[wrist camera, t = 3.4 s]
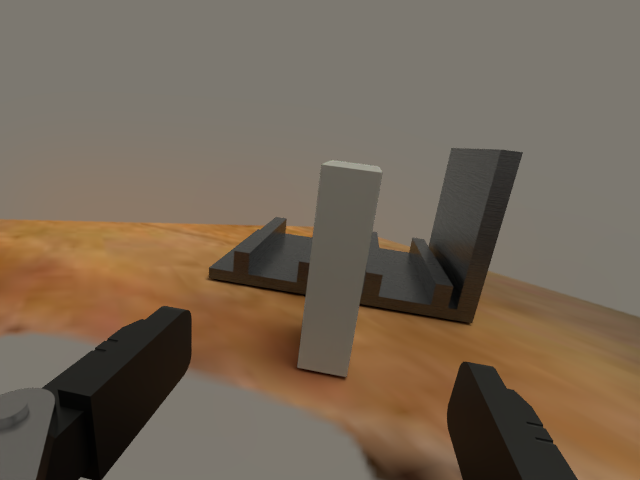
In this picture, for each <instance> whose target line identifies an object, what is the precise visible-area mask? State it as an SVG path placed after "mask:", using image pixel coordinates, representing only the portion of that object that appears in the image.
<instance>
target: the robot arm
mask: <svg viewBox="0 0 640 480" xmlns="http://www.w3.org/2000/svg"><path fill="white" fill-rule="evenodd" d="M191 323H192V319H191V313H190V311H189V310H184V309H179V308H173V307H168V306H163V307H161V308H159V309H158V310H157V311H156V312H154V313H153V314H152V315H150V316H149V317H148V318H147V319H145V320H143V319H141V320H139V321H136V322H134V323H132V324H129V325H127V326H125V327H122V328H121V329H120V330H118V331H117V332H116V333H114V334H113V335H112V336H110V337H109V338H108V340H107V341H104V342H102V343H101V344H100V345H99V346H97V347H96V348H95V350H94V351H91V352H89V353H88V354H87V355H85V356H84V357H83V358H81V359H80V360H79V361H77V362H76V363H75V364H73V365H72V366H71V367H69V368H68V369H67V370H65V371H64V372H63V373H61V374H60V375H59V376H57V377H56V378H55V379H53V380H52V381H51V382H49V383H48V384H47V385H45V386H44V387H43V388H26V389H19V390H15V391H11V392H8V393H5V394H2V395H0V480H78V479H79V478H80V477H83V478H87V479H91V480H102V479H103V477H104V476H105V475H106V474H107V472H108V471H109V470H110V468H111V467H112V466H113V465H114V463H115V462H116V461H117V460H118V458H119V457H120V456H121V455H122V453H123V452H124V451H125V449H126V448H127V447H128V446H129V444H130V443H131V442H132V441H133V439H134V438H135V437H136V436H137V434H138V433H139V432H140V430H141V429H142V428H143V427H144V425H145V424H146V423H147V422H148V420H149V419H150V418H151V417H152V415H153V414H154V413H155V411H156V410H157V409H158V408H159V406H160V405H161V404H162V402H163V401H164V400H165V399H166V397H167V396H168V395H169V394H170V392H171V391H172V390H173V388H174V387H175V386H176V385H177V383H178V382H179V381H180V380H181V378H182V377H183V376H184V374H185V373H186V371H187V369H188V366H189V364H190V360H191ZM447 424H448V430H449V434H450V437H451V441H452V444H453V448H454V451H455V454H456V458H457V461H458V465H459V468H460V472H461V475H462V478H463V480H578V479H577V478H576V476H575V474H574V473H573V471H572V470H571V468H570V467H569V465H568V463H567V462H566V460H565V459H564V457H563V456H562V454H561V452H560V451H559V449H558V448H557V446H556V445H554V444H553V440H552V438H551V437H550V435H549V433H548V432H547V430H546V429H544V428H543V424H542V422H541V421H540V419H539V418H538V416H537V415H536V413H535V411H534V410H533V408H532V407H531V406H530V405H529V404H528V403H527V402H526V401H525V400H524V399H523V398H522V397H521V396H520V395H519V394H517V393H516V392H515V391H514V390H511V389H507V388H506V386H505V385H504V383H503V381H502V380H501V378H500V376H499V374H498V373H497V371H496V369H495V368H494V367H492V366H486V365H481V364H475V363H470V362H463V363H462V364H461V365H460V367H459V371H458V374H457V377H456V381H455V384H454V387H453V391H452V394H451V398H450V401H449V404H448V410H447Z"/></svg>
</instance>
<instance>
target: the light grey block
mask: <svg viewBox="0 0 640 480" xmlns="http://www.w3.org/2000/svg"><path fill="white" fill-rule="evenodd" d="M381 179H382V171H381V169H380V168H379V166H372V165H364V164H357V163H349V162H342V161H335V160H331V161H328V162H326V163H324V164H322V165H321V173H320V181H319V190H318V198H317V206H316V214H315V223H314V231H313V239H312V248H311V256H310V264H309V273H308V281H307V290H306V298H305V306H304V315H303V323H302V331H301V340H300V348H299V356H298V365H297V368H302V369H307V370H312V371H317V372H322V373H328V374H333V375H338V376H343V377H347V372H348V367H349V361H350V355H351V350H352V344H353V338H354V333H355V327H356V321H357V316H358V310H359V304H360V299H361V293H362V287H363V281H364V276H365V270H366V264H367V259H368V253H369V247H370V242H371V236H372V230H373V224H374V219H375V213H376V207H377V202H378V196H379V190H380V185H381Z"/></svg>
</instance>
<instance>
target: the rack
mask: <svg viewBox="0 0 640 480" xmlns="http://www.w3.org/2000/svg"><path fill="white" fill-rule="evenodd" d="M521 157H522V152H515V151H506V150H492V149H459V148H457V149H456V148H452V149H451V153H450V157H449V161H448V165H447V170H446V174H445V178H444V183H443V187H442V191H441V195H440V200H439V204H438V208H437V213H436V217H435V221H434V226H433V230H432V234H431V239H430V243H429V247H428V245H427V244H426V242H425V240H424V239H418V238H412V242H411V247H410V251H409V253H407V252H401V251H394V250H388V249H381V248H379V244H378V237H377V232H372V236H371V242H370V247H369V253H368V259H367V264H366V270H365V276H364V281H363V287H362V293H361V299H360V304H364V305H369V306H375V307H381V308H387V309H393V310H398V311H404V312H410V313H416V314H422V315H428V316H433V317H439V318H445V319H451V320H457V321H462V322H468V323H472V322H473V319H474V315H475V312H476V309H477V305H478V302H479V298H480V295H481V292H482V288H483V285H484V282H485V278H486V275H487V271H488V268H489V265H490V261H491V258H492V255H493V251H494V248H495V244H496V241H497V238H498V234H499V231H500V228H501V224H502V221H503V217H504V214H505V211H506V207H507V204H508V201H509V197H510V194H511V190H512V187H513V183H514V180H515V177H516V174H517V170H518V167H519V163H520V160H521ZM285 230H286V219H285V218H278V217H276V218H274V219H273V220H272V221H271V222H270V223H268V224H267V225H266V226H264V227H263V228H262V229H261V230H259V229H258V230H257V231H255V232H254V233H253V234H252V235H250V236H249V237H248V238H246V239H245V240H244V241H243V242H241V243H240V244H239V245H238V246H236V247H235V248H234V249H232V250H231V251H230V252H229V253H227V254H226V255H225V256H224V257H222V258H221V259H220V260H218V261H217V262H216V263H215V264H213V265H212V266H211V267H209V278H213V279H218V280H224V281H230V282H236V283H242V284H247V285H253V286H259V287H265V288H271V289H276V290H282V291H288V292H294V293H300V294H306V290H307V281H308V273H309V264H310V256H311V248H312V239H313V237H312V238H311V237H304V236H298V235H291V234H285Z"/></svg>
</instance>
